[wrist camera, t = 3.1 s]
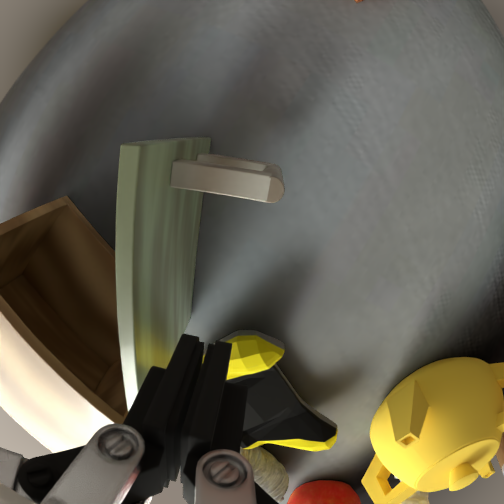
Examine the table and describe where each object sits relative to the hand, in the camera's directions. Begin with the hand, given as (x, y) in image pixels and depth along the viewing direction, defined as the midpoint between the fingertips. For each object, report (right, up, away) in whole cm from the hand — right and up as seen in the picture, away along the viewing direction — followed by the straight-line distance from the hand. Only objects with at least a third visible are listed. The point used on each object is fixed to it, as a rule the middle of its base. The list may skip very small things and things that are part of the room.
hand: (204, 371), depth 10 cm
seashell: (+3, -21, +23) cm, 32 cm away
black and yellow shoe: (+3, -8, +19) cm, 20 cm away
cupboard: (-13, 0, +16) cm, 21 cm away
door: (0, +5, +14) cm, 14 cm away
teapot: (+22, -12, +19) cm, 31 cm away
